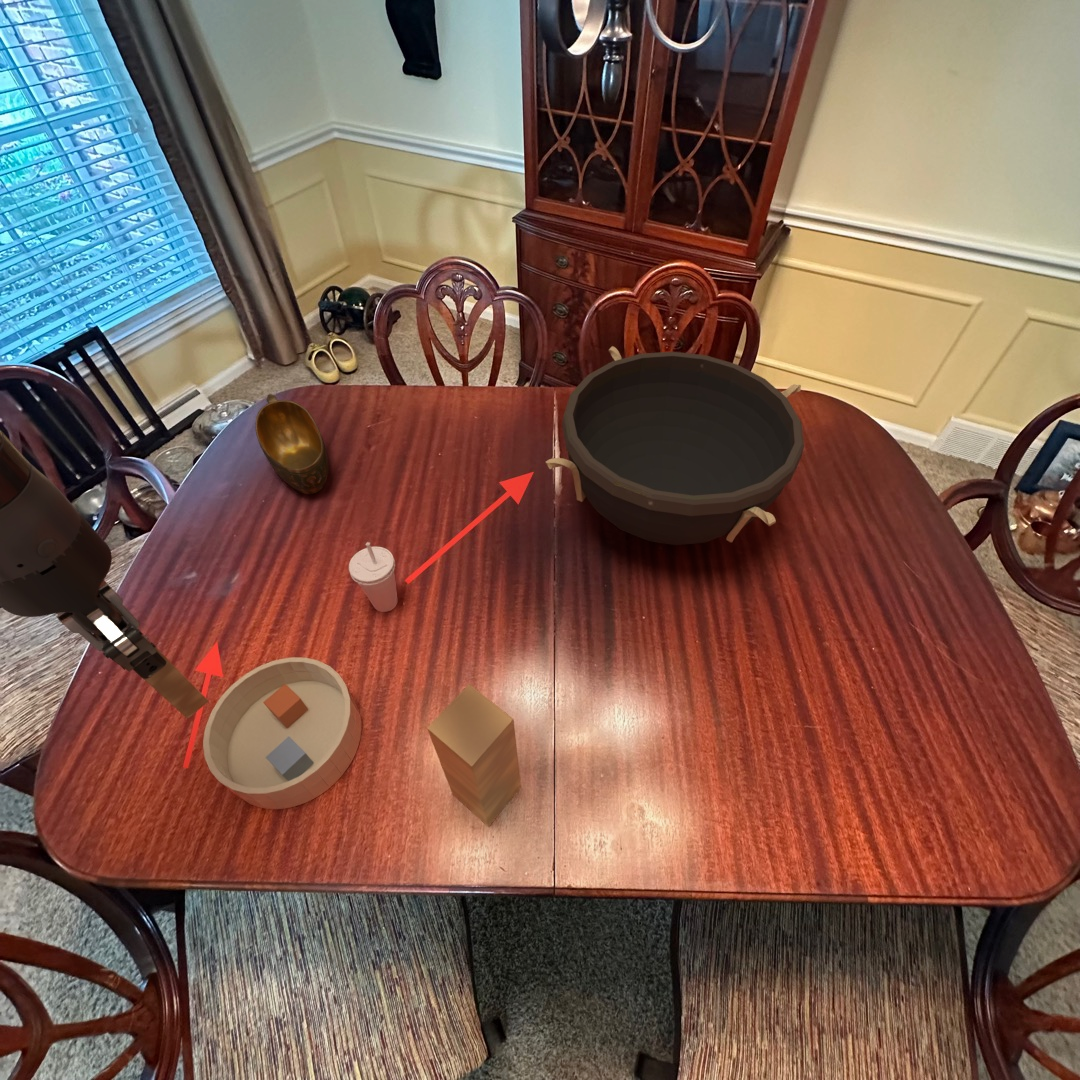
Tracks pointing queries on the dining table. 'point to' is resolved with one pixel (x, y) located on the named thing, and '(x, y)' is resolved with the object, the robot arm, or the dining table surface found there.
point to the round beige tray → (282, 733)
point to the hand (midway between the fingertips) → (146, 660)
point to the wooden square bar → (176, 688)
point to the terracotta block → (286, 705)
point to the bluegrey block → (289, 759)
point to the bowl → (680, 445)
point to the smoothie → (375, 576)
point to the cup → (292, 444)
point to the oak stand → (477, 753)
